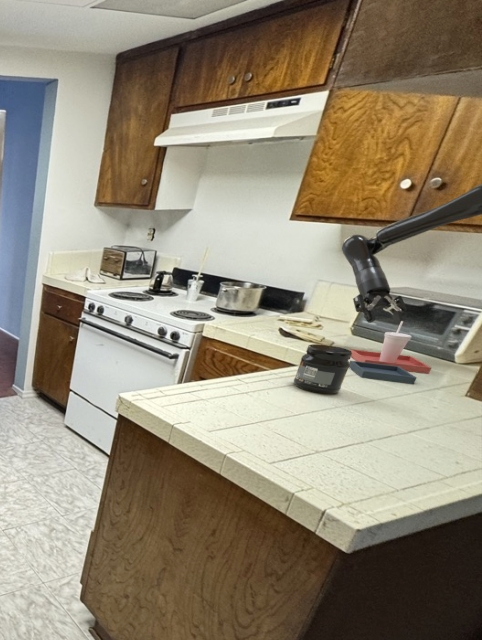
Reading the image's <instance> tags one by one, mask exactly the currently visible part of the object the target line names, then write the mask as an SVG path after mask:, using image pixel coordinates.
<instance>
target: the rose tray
mask: <svg viewBox="0 0 482 640" xmlns="http://www.w3.org/2000/svg"><path fill="white" fill-rule="evenodd" d="M350 351H351V352H352V355H351V358H352V359H354V361H358V362H366V363H375V364H383V365H391V366H399V367H401V368H402V369H404V370H405V371H407V372H411V373H420V374H427V375H428V374H430V372H431V370H432V367H431V366H429V365H428V364H426V363H424V362H422V361H421V360H419V359H417V358H415V357H414V356H412V355H404V354H400V355H399V356H398V358H397V359H396V361H395V363H391V362H383V361H379V359H380V355H381V352H378V351H368V350H360V349H350Z"/></svg>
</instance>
